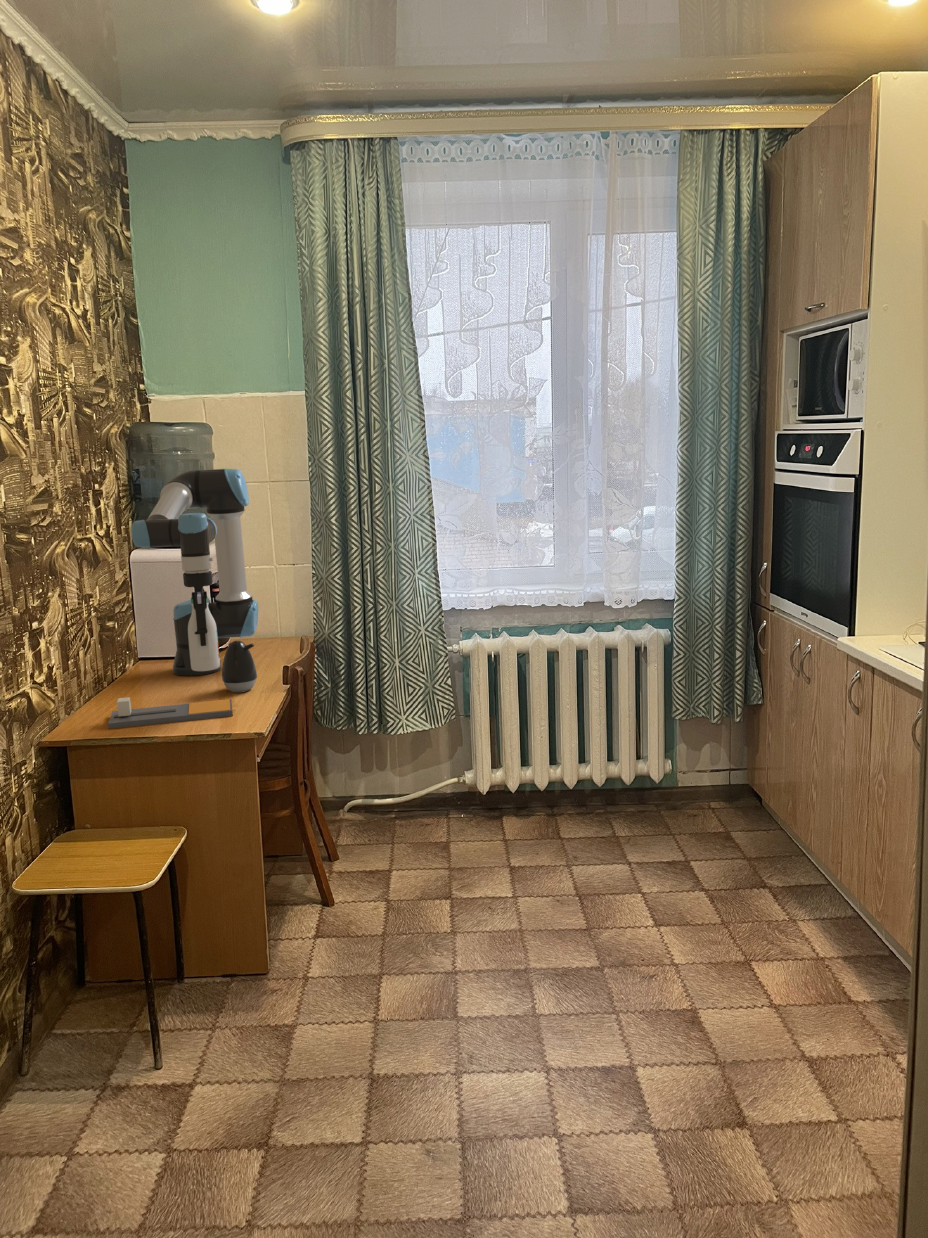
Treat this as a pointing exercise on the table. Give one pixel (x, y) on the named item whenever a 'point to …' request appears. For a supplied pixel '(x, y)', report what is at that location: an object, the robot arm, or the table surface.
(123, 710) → the handle
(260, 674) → the table surface
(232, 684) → the pump dispenser
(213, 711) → the board
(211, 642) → the milk bottle
